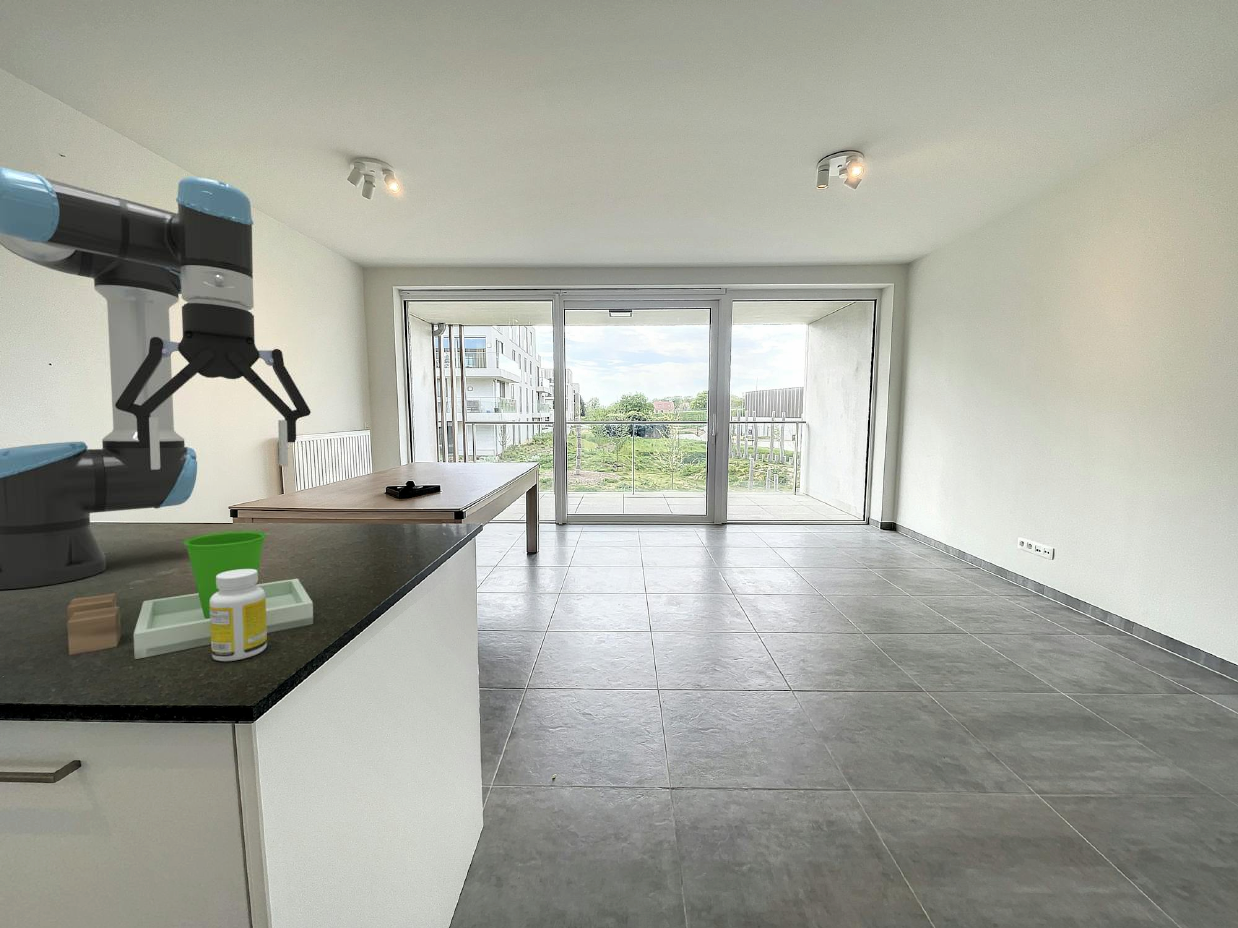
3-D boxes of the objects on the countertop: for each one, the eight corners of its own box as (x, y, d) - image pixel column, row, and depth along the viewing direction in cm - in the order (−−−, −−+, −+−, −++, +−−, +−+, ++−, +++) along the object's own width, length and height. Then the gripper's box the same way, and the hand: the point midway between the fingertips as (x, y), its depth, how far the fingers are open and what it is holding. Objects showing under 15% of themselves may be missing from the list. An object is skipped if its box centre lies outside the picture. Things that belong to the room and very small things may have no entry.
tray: (144, 622, 70) (143, 601, 70) (298, 596, 81) (297, 578, 81) (134, 659, 59) (133, 634, 59) (313, 623, 70) (312, 602, 70)
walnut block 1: (74, 628, 68) (73, 598, 67) (116, 621, 70) (115, 593, 70) (68, 638, 65) (67, 607, 64) (113, 630, 67) (111, 601, 67)
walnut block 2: (76, 644, 63) (74, 612, 63) (121, 636, 65) (119, 606, 65) (69, 655, 60) (67, 622, 60) (116, 647, 62) (115, 615, 62)
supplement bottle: (268, 639, 65) (266, 564, 64) (266, 656, 61) (263, 575, 60) (214, 648, 62) (211, 570, 62) (208, 666, 58) (205, 582, 57)
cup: (224, 631, 65) (221, 547, 64) (167, 625, 67) (164, 542, 66) (284, 607, 74) (282, 533, 73) (232, 602, 75) (230, 529, 75)
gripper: (77, 282, 56) (86, 472, 58) (331, 318, 72) (333, 466, 74) (88, 294, 62) (96, 467, 64) (321, 325, 78) (323, 462, 80)
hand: (223, 467), depth 69 cm, fingers open, 13 cm apart
